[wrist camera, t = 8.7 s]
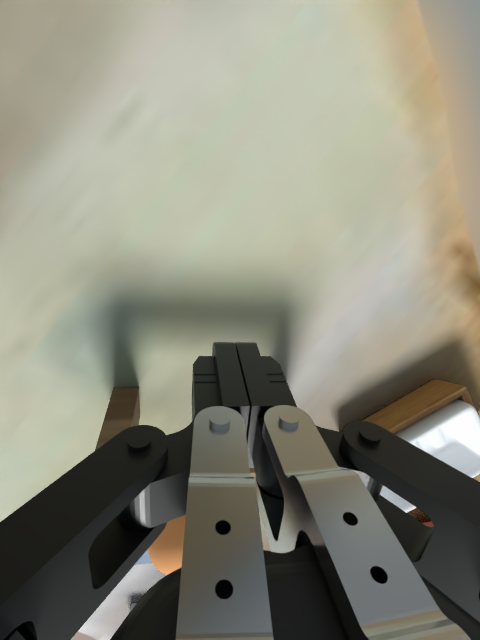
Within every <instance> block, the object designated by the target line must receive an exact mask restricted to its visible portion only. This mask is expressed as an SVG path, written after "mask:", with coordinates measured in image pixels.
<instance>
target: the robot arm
mask: <svg viewBox="0 0 480 640" xmlns="http://www.w3.org/2000/svg"><path fill="white" fill-rule="evenodd" d="M249 468H254V469H255V474H256V477H255V479H254V477H250V469H249ZM383 486H385V487H386V488H388V489H389V490H391V491H392V492H394V493H395V494H397V495H398V496H400V497H401V498H403V499H405V500H406V501H408V502H409V503H411V504H412V505H414V506H415V507H417V508H418V509H420V510H421V511H423V512H424V513H425V514H426V515H427V516H428V517H429V518H430V519H431V521H432V523H433V526H434V527H428V526H426V525H424V524H422V523H421V522H419V521H418V520H416V519H415V518H413V517H412V516H410V515H409V514H408V513H406V512H405V511H403V510H402V509H400V508H399V507H397V506H396V505H394V504H393V503H391V502H390V501H388V500H387V499H385V498H384V497H383V496H381V495H380V492H381V489H382V487H383ZM258 506H259V508H258ZM259 510H260V513H261V517H262V520H263V524H264V527H265V531H266V534H267V538H268V541H269V545H270V549H271V551H265V550H263V543H262V535H261V526H260V517H259ZM183 515H186V518H185V531H184V543H183V555H182V567H181V568H179V569H177V570H175V571H173V572H171V573H170V574H168V575H167V576H165V577H164V578H162V579H161V580H159V581H158V582H157V583H156V584H155V585H154V586H152V587H151V588H150V589H149V590H148V591H147V592H146V593H145V594H144V595H143V596H142V598H141V599H140V600H139V601H138V602H137V604H136V605H135V606H134V608H133V609H132V610H131V612H130V613H129V614H128V616H127V617H126V619H125V620H124V621H123V623H122V624H121V625H120V627H119V628H118V630H117V631H116V632H115V634H114V635H113V636H112V638H111V639H110V640H480V482H478V481H477V480H475V479H473V478H471V477H469V476H468V475H466V474H464V473H462V472H461V471H459V470H457V469H455V468H453V467H452V466H450V465H448V464H446V463H445V462H443V461H441V460H439V459H437V458H436V457H434V456H432V455H430V454H429V453H427V452H425V451H423V450H421V449H420V448H418V447H416V446H414V445H413V444H411V443H409V442H407V441H405V440H404V439H402V438H400V437H398V436H397V435H395V434H393V433H391V432H389V431H388V430H386V429H384V428H382V427H381V426H379V425H377V424H374V423H371V422H368V421H352V422H350V423H348V424H347V425H346V426H345V427H344V430H343V432H338V431H333V430H328V429H324V428H321V427H318V426H315V424H314V422H313V421H312V419H311V417H310V416H309V415H308V414H307V413H306V412H305V411H303V410H301V409H299V408H297V406H296V403H295V401H294V399H293V396H292V394H291V391H290V389H289V386H288V384H287V383H286V379H285V377H284V375H283V372H282V370H281V367H280V365H279V364H278V363H277V362H276V361H275V360H274V359H273V358H272V357H270V356H260V353H259V350H258V347H257V344H256V343H228V342H214V343H213V352H212V356H199V357H198V358H197V360H196V361H195V362H194V364H193V382H192V422H191V423H190V425H189V426H187V427H186V428H185V429H183V430H181V431H179V432H176V433H173V434H170V435H165V433H164V432H163V431H162V430H160V429H158V428H156V427H153V426H149V425H138V426H133V427H129V428H127V429H125V430H123V431H121V432H120V433H118V434H117V435H116V436H114V437H113V438H112V439H110V440H109V441H108V442H106V443H105V444H104V445H102V446H101V447H100V448H98V449H97V450H96V451H94V452H93V453H92V454H90V455H89V456H88V457H86V458H85V459H84V460H82V461H81V462H80V463H78V464H77V465H76V466H74V467H73V468H72V469H71V470H69V471H68V472H67V473H65V474H64V475H63V476H61V477H60V478H59V479H57V480H56V481H55V482H53V483H52V484H51V485H49V486H48V487H47V488H45V489H44V490H43V491H41V492H40V493H39V494H37V495H36V496H35V497H33V498H32V499H31V500H29V501H28V502H27V503H25V504H24V505H23V506H21V507H20V508H19V509H17V510H16V511H15V512H13V513H12V514H11V515H9V516H8V517H7V518H5V519H4V520H3V521H1V522H0V640H70V639H71V638H72V637H73V636H74V635H75V634H76V632H77V631H78V630H79V629H80V628H81V627H82V625H83V624H84V623H85V622H86V621H87V620H88V618H89V617H90V616H91V615H92V614H93V613H94V611H95V610H96V609H97V608H98V607H99V606H100V604H101V603H102V602H103V601H104V600H105V599H106V597H107V596H108V595H109V594H110V593H111V591H112V590H113V589H114V588H115V587H116V586H117V584H118V583H119V582H120V581H121V580H122V579H123V577H124V576H125V575H126V574H127V573H128V572H129V570H130V569H131V568H132V567H133V566H134V565H135V563H136V562H137V561H138V560H139V559H140V558H141V556H142V555H143V554H144V553H145V552H146V550H147V549H148V548H149V547H150V546H151V545H152V543H153V542H154V541H155V540H156V539H157V538H158V536H159V535H160V534H161V533H162V532H163V530H164V529H165V527H166V525H167V522H168V521H171V520H173V519H176V518H178V517H181V516H183Z"/></svg>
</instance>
